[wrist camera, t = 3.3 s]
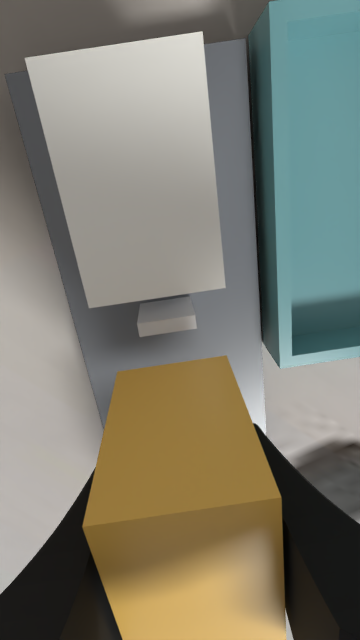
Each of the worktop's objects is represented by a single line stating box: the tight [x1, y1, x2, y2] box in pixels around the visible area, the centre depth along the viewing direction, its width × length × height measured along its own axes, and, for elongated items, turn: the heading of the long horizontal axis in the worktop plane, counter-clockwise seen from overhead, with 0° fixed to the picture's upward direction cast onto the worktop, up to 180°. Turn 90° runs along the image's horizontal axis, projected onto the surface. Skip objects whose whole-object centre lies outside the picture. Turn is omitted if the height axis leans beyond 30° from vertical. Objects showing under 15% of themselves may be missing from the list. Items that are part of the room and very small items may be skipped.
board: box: [5, 38, 266, 435], centre depth 17 cm, size 9×27×4 cm, turn 8°
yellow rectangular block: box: [82, 355, 286, 640], centre depth 11 cm, size 4×6×6 cm, turn 8°
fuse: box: [25, 31, 226, 308], centre depth 11 cm, size 4×6×6 cm, turn 8°
